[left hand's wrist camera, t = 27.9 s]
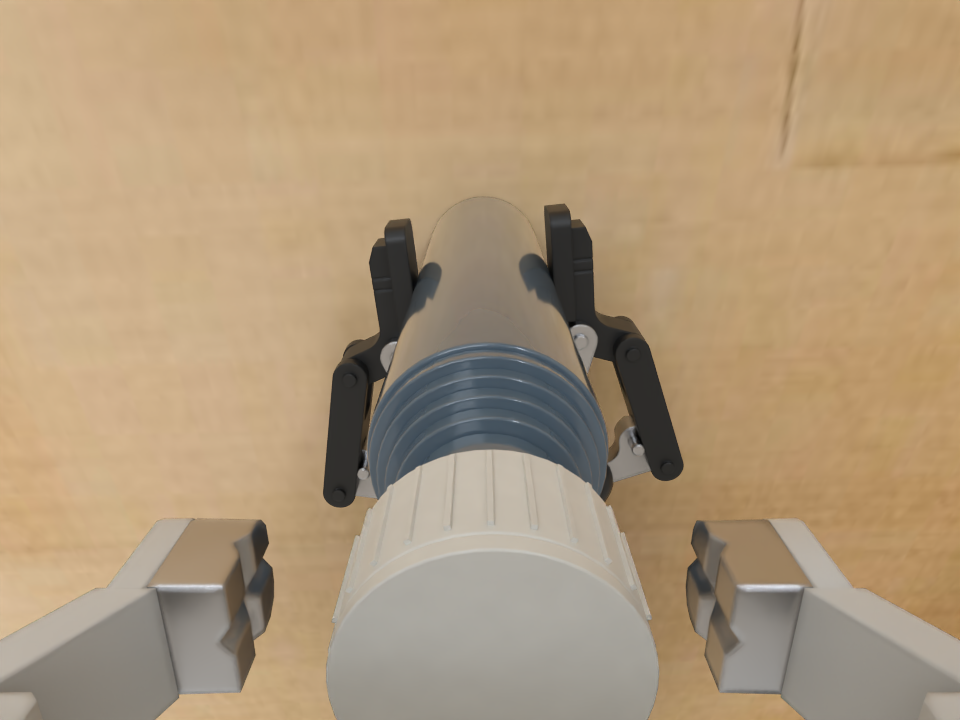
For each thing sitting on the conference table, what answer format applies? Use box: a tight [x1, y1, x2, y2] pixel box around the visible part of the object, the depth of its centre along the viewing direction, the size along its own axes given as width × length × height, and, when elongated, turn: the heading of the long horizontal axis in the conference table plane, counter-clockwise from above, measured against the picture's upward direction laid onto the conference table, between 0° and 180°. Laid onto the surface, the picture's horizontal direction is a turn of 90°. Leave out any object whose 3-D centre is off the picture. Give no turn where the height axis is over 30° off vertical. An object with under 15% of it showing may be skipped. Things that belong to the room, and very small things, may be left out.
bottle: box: [367, 197, 609, 500], centre depth 20 cm, size 5×5×23 cm
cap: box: [326, 449, 659, 720], centre depth 9 cm, size 4×4×2 cm
